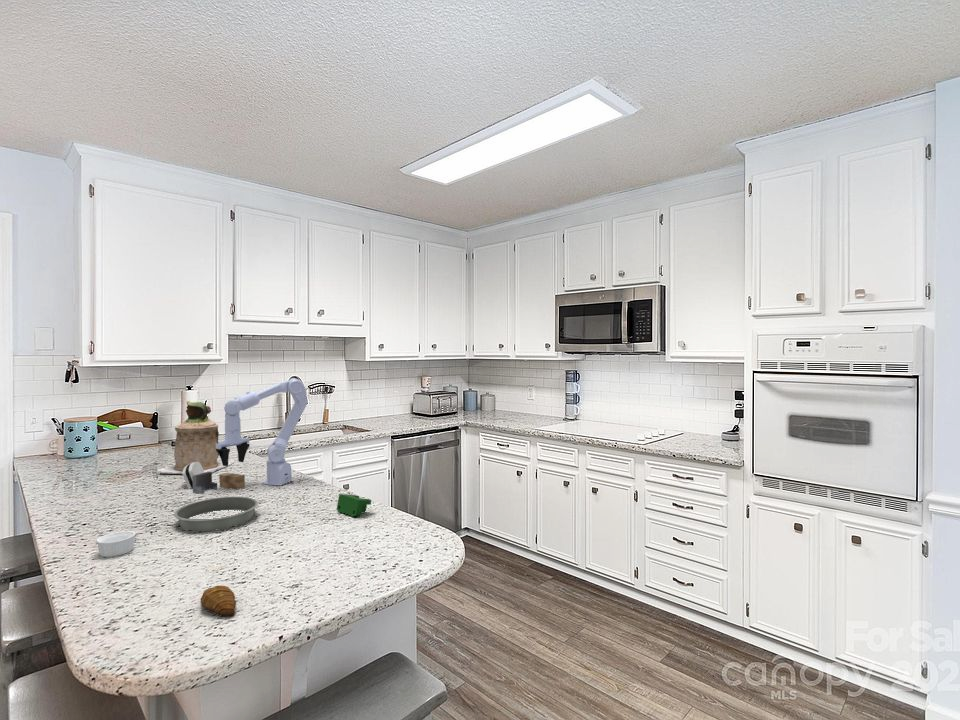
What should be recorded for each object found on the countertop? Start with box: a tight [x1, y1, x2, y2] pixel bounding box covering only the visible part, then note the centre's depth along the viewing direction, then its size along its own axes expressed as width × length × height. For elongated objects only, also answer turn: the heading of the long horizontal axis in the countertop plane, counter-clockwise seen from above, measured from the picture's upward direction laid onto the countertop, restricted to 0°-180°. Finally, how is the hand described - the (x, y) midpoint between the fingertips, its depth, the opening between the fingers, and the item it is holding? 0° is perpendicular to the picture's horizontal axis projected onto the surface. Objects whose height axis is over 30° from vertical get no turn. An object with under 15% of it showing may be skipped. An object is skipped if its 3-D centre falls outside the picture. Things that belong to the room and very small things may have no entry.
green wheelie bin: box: [336, 493, 372, 517], centre depth 178 cm, size 12×6×9 cm, turn 43°
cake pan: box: [173, 496, 259, 532], centre depth 172 cm, size 25×25×4 cm
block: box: [218, 472, 246, 490], centre depth 212 cm, size 10×4×5 cm, turn 66°
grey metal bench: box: [192, 472, 218, 495], centre depth 207 cm, size 5×7×6 cm
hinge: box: [181, 462, 205, 490], centre depth 218 cm, size 17×5×10 cm, turn 17°
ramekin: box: [96, 530, 136, 558], centre depth 146 cm, size 9×9×4 cm
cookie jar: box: [156, 400, 235, 475], centre depth 245 cm, size 25×25×32 cm
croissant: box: [199, 585, 237, 618], centre depth 114 cm, size 14×7×5 cm, turn 47°
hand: (233, 463), depth 212 cm, fingers open, 7 cm apart
